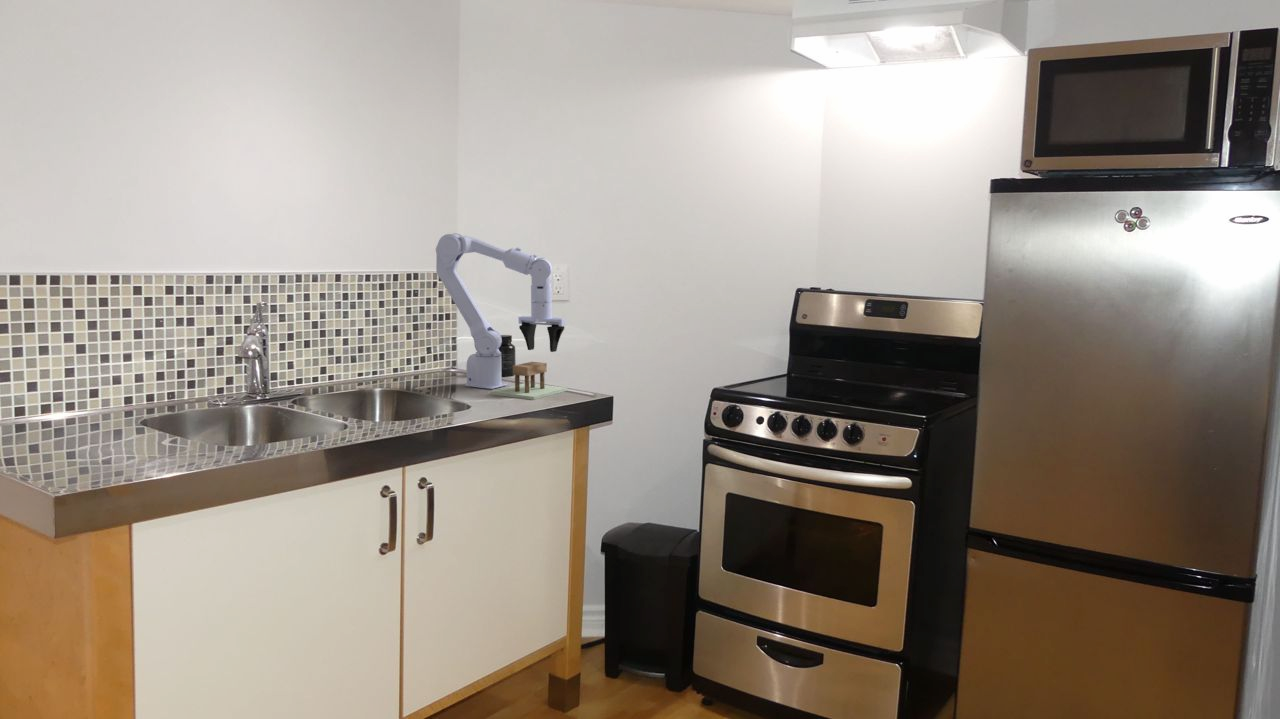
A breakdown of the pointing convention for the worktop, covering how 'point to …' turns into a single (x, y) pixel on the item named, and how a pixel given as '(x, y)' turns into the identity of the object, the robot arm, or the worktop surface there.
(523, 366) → the walnut stool
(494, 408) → the worktop surface
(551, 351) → the robot arm
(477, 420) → the worktop surface
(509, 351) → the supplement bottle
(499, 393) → the sage board
